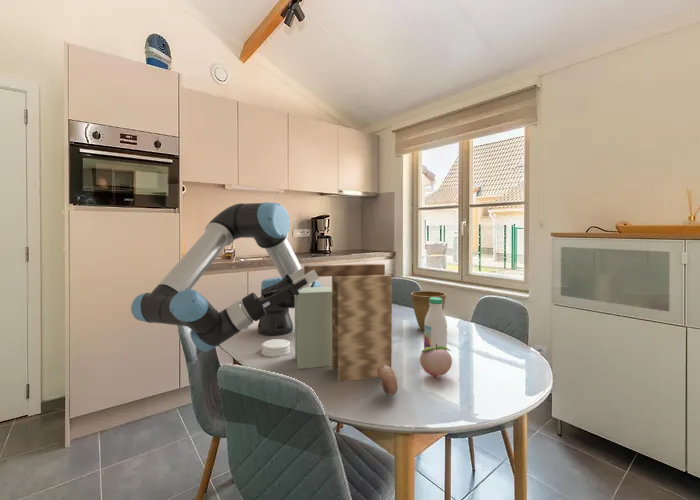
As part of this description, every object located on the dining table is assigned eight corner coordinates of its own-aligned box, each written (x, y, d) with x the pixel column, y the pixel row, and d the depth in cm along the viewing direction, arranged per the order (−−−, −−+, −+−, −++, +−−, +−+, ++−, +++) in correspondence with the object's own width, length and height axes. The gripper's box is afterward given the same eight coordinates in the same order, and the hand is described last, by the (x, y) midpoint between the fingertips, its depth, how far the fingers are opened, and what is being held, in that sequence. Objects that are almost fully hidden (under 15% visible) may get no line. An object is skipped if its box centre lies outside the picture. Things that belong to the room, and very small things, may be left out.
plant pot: (449, 327, 154) (450, 292, 153) (439, 336, 141) (439, 297, 140) (418, 323, 161) (418, 289, 161) (405, 330, 149) (405, 294, 148)
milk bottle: (447, 352, 122) (448, 296, 121) (445, 360, 114) (446, 301, 113) (425, 350, 124) (425, 295, 123) (422, 357, 117) (423, 299, 116)
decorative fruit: (432, 386, 95) (432, 350, 95) (415, 374, 103) (415, 342, 102) (458, 380, 99) (459, 346, 98) (440, 369, 106) (441, 338, 106)
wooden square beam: (305, 277, 98) (305, 266, 98) (304, 275, 101) (304, 265, 100) (384, 274, 104) (384, 264, 104) (381, 273, 107) (381, 263, 106)
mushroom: (384, 387, 94) (384, 358, 94) (404, 392, 91) (404, 363, 91) (370, 398, 88) (370, 368, 88) (392, 404, 85) (392, 373, 84)
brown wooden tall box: (339, 381, 98) (338, 277, 97) (332, 368, 108) (331, 273, 106) (391, 375, 102) (391, 275, 101) (380, 363, 112) (380, 271, 110)
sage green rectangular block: (298, 369, 107) (297, 293, 106) (295, 357, 117) (294, 288, 116) (335, 365, 110) (335, 291, 109) (329, 354, 120) (329, 286, 119)
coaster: (294, 349, 126) (294, 339, 126) (282, 358, 116) (282, 348, 116) (270, 346, 129) (270, 337, 129) (256, 355, 119) (256, 346, 119)
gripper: (256, 311, 108) (313, 276, 112) (253, 334, 84) (327, 288, 88) (243, 292, 107) (301, 256, 111) (237, 309, 83) (312, 263, 87)
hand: (313, 270), depth 99 cm, fingers open, 13 cm apart
